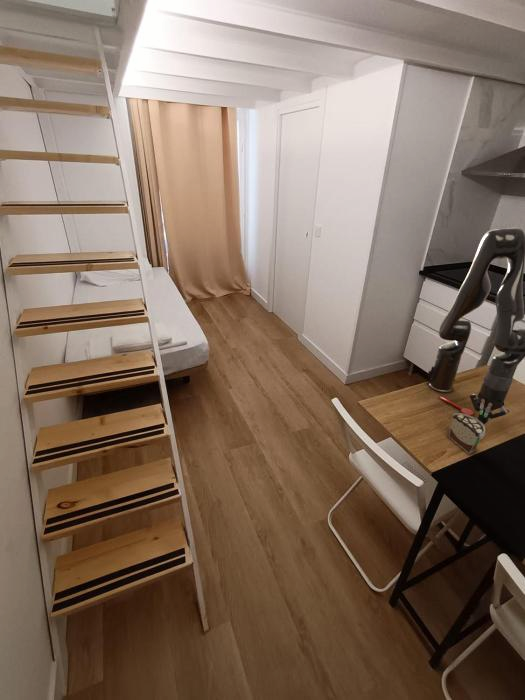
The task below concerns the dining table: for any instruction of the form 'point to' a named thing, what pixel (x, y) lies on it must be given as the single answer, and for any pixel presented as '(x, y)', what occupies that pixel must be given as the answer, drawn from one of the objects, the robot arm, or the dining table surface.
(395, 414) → the dining table surface
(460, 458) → the dining table surface
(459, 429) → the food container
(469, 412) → the spoon
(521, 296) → the robot arm
